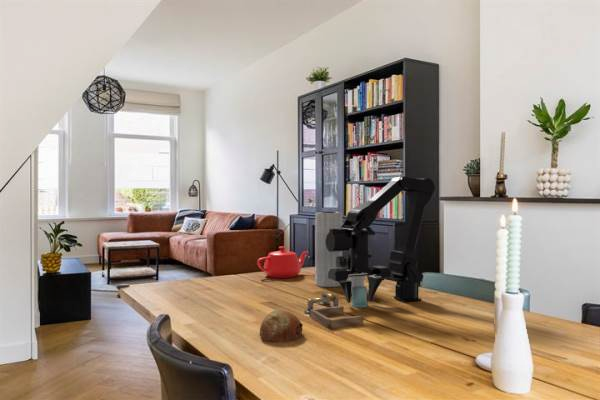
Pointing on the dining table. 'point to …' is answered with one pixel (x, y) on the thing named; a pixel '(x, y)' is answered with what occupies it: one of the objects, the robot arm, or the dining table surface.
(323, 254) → the vase
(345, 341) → the dining table surface
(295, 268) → the teapot
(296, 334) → the bread roll
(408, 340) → the dining table surface
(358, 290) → the spool
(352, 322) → the dock
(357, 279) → the cup
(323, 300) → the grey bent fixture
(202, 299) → the dining table surface
